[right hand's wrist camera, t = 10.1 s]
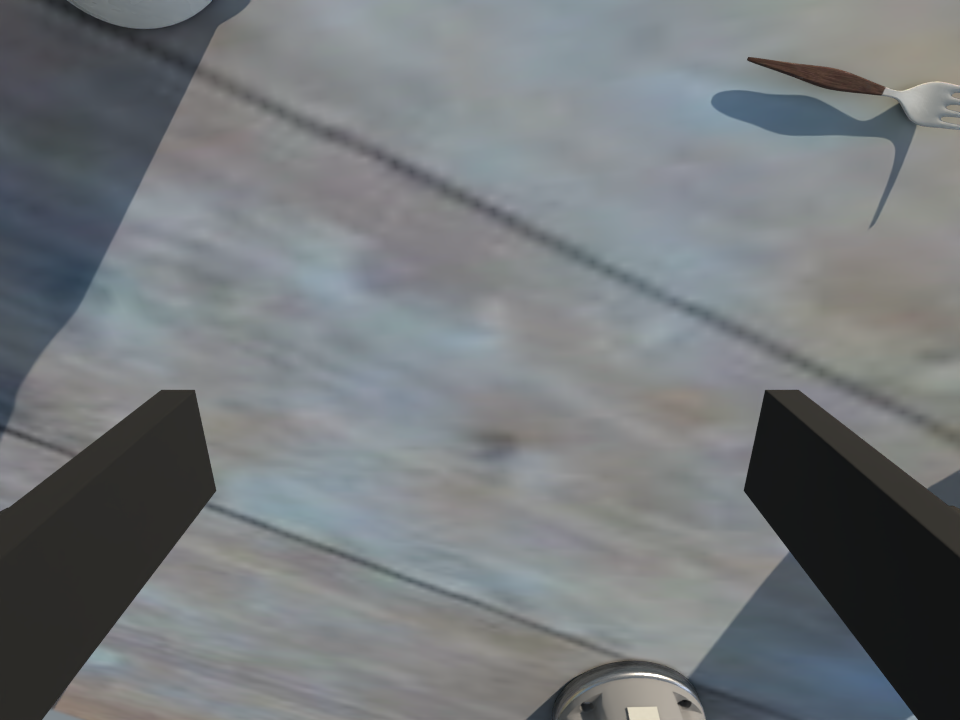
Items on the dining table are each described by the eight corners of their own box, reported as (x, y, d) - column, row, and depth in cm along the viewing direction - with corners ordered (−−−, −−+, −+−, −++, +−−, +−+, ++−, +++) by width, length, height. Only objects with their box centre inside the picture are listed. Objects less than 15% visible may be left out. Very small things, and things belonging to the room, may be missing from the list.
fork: (751, 36, 34) (767, 30, 32) (985, 93, 35) (1013, 90, 33) (736, 82, 35) (750, 78, 33) (963, 136, 36) (990, 136, 34)
